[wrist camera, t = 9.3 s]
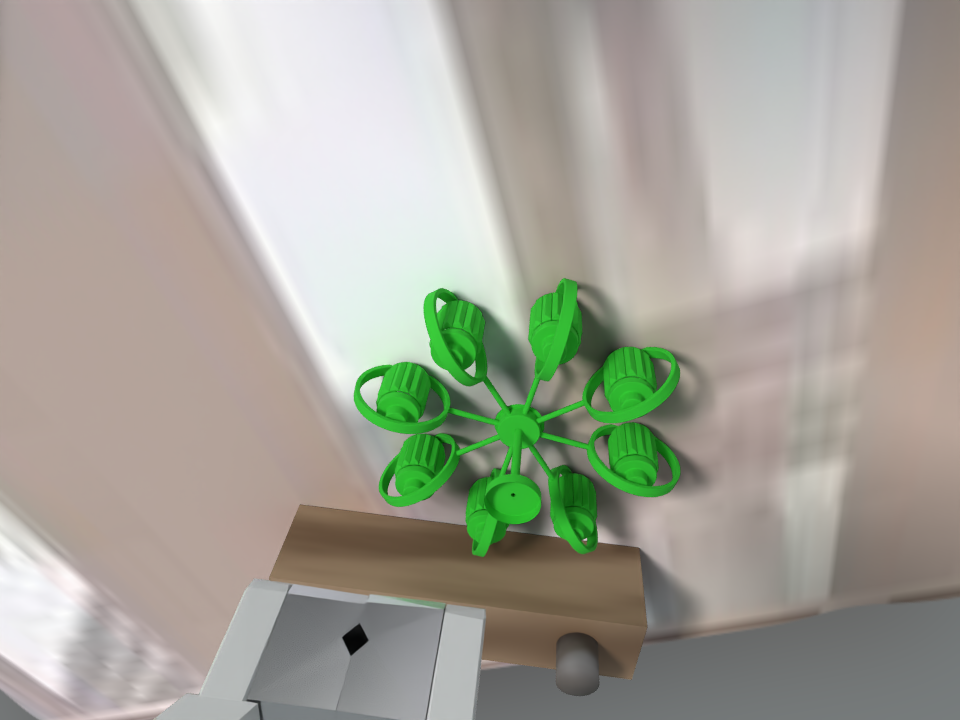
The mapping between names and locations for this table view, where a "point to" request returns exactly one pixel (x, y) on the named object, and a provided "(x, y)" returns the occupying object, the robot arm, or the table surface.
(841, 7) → the table surface
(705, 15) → the table surface
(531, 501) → the chandelier
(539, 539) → the walnut block
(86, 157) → the table surface
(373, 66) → the table surface
